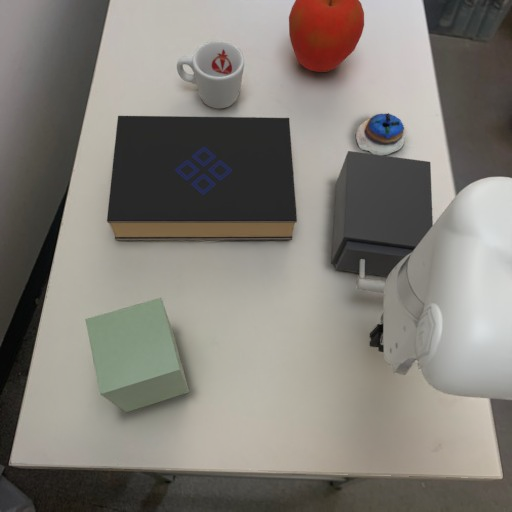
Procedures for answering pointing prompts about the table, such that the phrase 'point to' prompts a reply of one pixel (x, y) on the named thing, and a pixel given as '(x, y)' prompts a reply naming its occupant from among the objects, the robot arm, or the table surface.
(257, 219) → the book
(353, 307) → the table surface
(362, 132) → the dessert
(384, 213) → the cabinet
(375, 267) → the drawer
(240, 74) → the cup
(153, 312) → the block
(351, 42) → the apple
